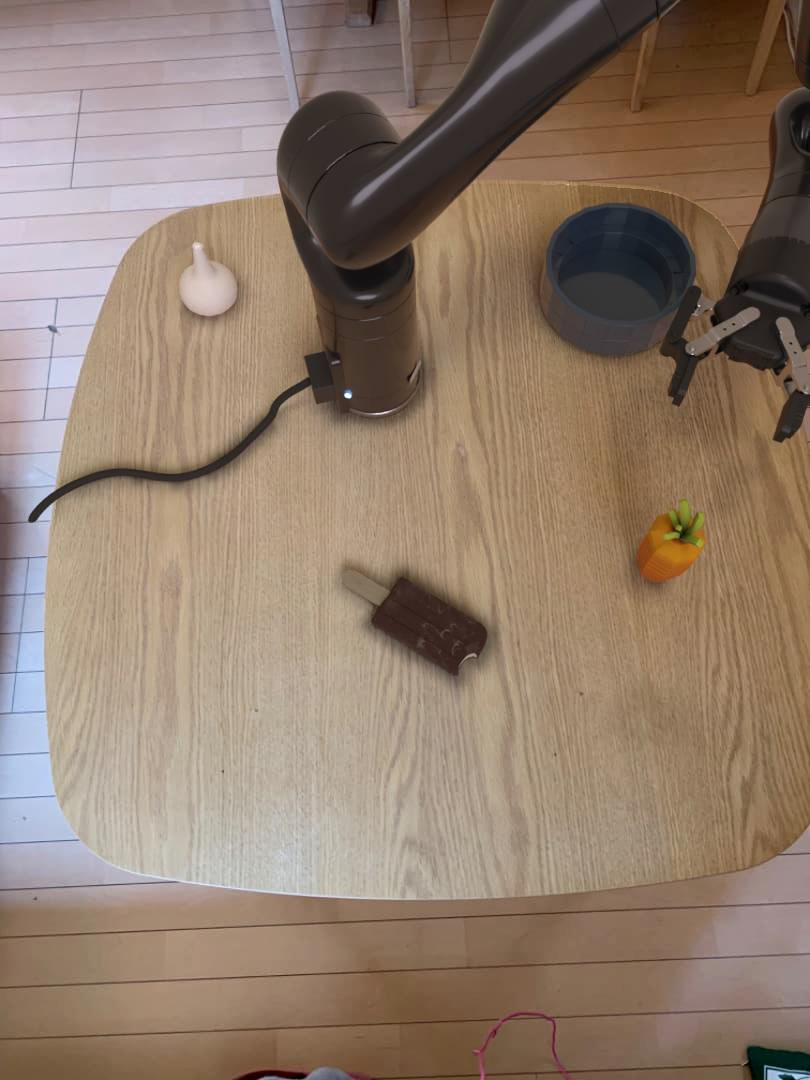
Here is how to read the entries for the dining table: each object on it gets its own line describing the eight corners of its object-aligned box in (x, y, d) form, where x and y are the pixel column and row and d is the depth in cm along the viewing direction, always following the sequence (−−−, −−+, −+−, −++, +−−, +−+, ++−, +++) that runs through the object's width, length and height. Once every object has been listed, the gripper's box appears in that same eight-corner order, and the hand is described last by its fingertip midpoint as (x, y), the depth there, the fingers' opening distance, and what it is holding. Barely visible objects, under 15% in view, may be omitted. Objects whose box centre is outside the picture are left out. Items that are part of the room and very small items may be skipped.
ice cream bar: (329, 599, 82) (463, 681, 79) (327, 594, 80) (463, 678, 77) (359, 555, 83) (492, 634, 80) (358, 549, 82) (493, 630, 78)
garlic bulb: (172, 305, 94) (149, 258, 86) (206, 265, 96) (186, 215, 88) (218, 330, 93) (199, 284, 85) (251, 289, 94) (235, 240, 87)
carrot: (671, 604, 80) (722, 551, 66) (619, 594, 81) (658, 540, 67) (676, 555, 82) (726, 494, 68) (625, 546, 83) (664, 483, 68)
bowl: (564, 373, 89) (573, 340, 84) (521, 258, 95) (527, 221, 89) (701, 339, 90) (719, 305, 85) (651, 227, 95) (664, 188, 90)
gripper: (715, 210, 71) (655, 365, 66) (887, 263, 69) (837, 428, 64) (690, 267, 78) (634, 411, 73) (844, 318, 76) (797, 470, 71)
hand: (729, 419), depth 69 cm, fingers open, 8 cm apart
